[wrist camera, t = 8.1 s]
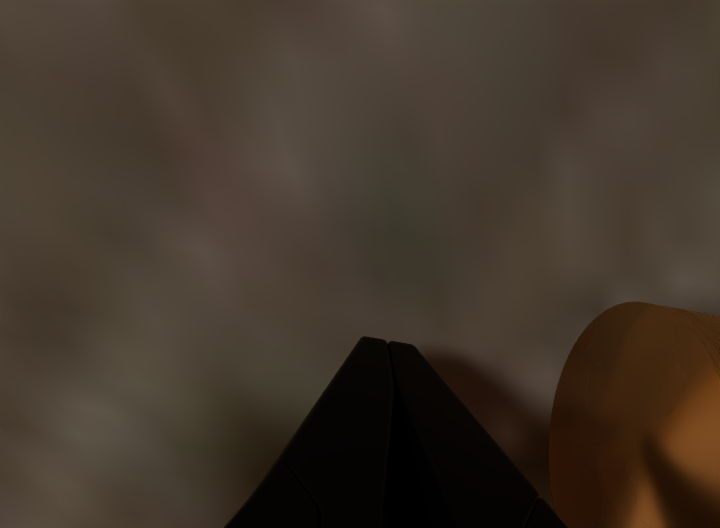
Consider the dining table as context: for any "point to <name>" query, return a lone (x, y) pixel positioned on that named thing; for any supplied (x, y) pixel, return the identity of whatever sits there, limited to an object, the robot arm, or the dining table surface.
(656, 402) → the knob inner
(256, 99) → the dining table surface
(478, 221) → the dining table surface
